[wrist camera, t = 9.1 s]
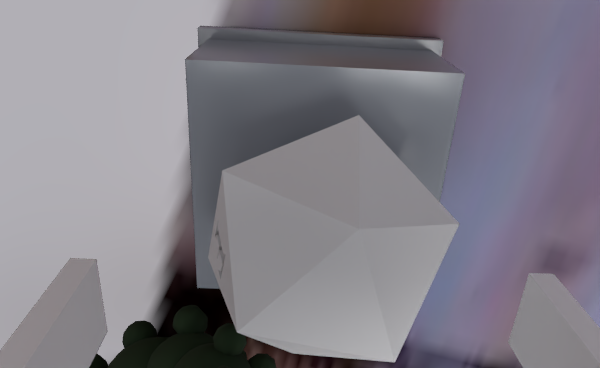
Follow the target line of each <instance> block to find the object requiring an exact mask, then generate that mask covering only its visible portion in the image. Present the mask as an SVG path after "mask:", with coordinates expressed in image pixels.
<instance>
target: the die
mask: <svg viewBox="0 0 600 368" xmlns="http://www.w3.org/2000/svg"><path fill="white" fill-rule="evenodd" d="M458 226H459V223H458V222H457V221H456V220H455V219H454V217H453V216H452V215H451V214H450V213H449V212H448V211H447V210H446V209H445V208H444V207H443V206H442V204H441V203H440V202H439V201H438V200H437V199H436V198H435V197H434V196H433V195H432V194H431V192H430V191H429V190H428V189H427V188H426V187H425V186H424V185H423V184H422V183H421V182H420V181H419V179H418V178H417V177H416V176H415V175H414V174H413V173H412V172H411V171H410V170H409V169H408V168H407V166H406V165H405V164H404V163H403V162H402V161H401V160H400V159H399V158H398V157H397V156H396V155H395V153H394V152H393V151H392V150H391V149H390V148H389V147H388V146H387V145H386V144H385V143H384V142H383V140H382V139H381V138H380V137H379V136H378V135H377V134H376V133H375V132H374V131H373V130H372V129H371V127H370V126H369V125H368V124H367V123H366V122H365V121H364V120H363V119H362V118H361V117H360V116H359V115H358V116H355V117H353V118H350V119H348V120H345V121H343V122H340V123H338V124H336V125H333V126H331V127H328V128H326V129H323V130H321V131H318V132H316V133H313V134H311V135H308V136H306V137H304V138H301V139H299V140H296V141H294V142H291V143H289V144H286V145H284V146H281V147H279V148H276V149H274V150H272V151H269V152H267V153H264V154H262V155H259V156H257V157H254V158H252V159H249V160H247V161H244V162H242V163H239V164H237V165H235V166H232V167H230V168H227V169H225V170H222V176H221V182H220V188H219V194H218V200H217V206H216V213H215V219H214V225H213V231H212V237H211V243H210V249H209V256H208V259H209V261H210V264H211V266H212V269H213V271H214V274H215V277H216V279H217V282H218V284H219V287H220V290H221V292H222V295H223V297H224V300H225V303H226V305H227V308H228V310H229V313H230V316H231V318H232V321H233V323H234V326H235V329H236V331H237V333H240V334H243V335H245V336H248V337H251V338H253V339H256V340H259V341H261V342H264V343H267V344H269V345H272V346H275V347H277V348H280V349H283V350H285V351H288V352H291V353H293V354H305V355H316V356H328V357H339V358H351V359H362V360H374V361H386V362H395V361H396V359H397V357H398V355H399V353H400V350H401V348H402V346H403V344H404V342H405V340H406V338H407V335H408V333H409V331H410V329H411V327H412V325H413V323H414V320H415V318H416V316H417V314H418V312H419V310H420V307H421V305H422V303H423V301H424V299H425V297H426V295H427V292H428V290H429V288H430V286H431V284H432V282H433V280H434V277H435V275H436V273H437V271H438V269H439V267H440V265H441V262H442V260H443V258H444V256H445V254H446V252H447V250H448V247H449V245H450V243H451V241H452V239H453V237H454V235H455V232H456V230H457V228H458Z"/></svg>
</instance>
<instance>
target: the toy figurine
mask: <svg viewBox="0 0 600 368" xmlns="http://www.w3.org/2000/svg"><path fill="white" fill-rule="evenodd" d="M207 327H208V317H207V316H206V315H205V313H204V312H203V311H202V310H201V309H200V308H199V307H198V306H197V305H188V306H184V307H182V308H181V309H180V310H179V311H178V312H177V313H176V314H175V316H174V319H173V328H174V329H175V331H176V332H177V334H175V335H173V336H171V337H157V332H156V329H155V328H154V326H153V325H152V324H151V323H150V322H147V321H135V322H134V323H133V324H131V325H130V326H128V328H127V329H126V331H125V332H124V334H123V345H124V349H123V350H122V351H121V352H120V353H119V354H118V355H117V356H116V357H115V358H114V359H113V361H112V362H111V363H110V364H109V366H108V364H107V362H106V360H104V359H103V358H102V357H101V356H100V355H98V354H96V355H95V357H94V359H93V361H92V363H91V365H90V367H89V368H276V365H275V361H274V359H273V358H272V357H270V356H269V355H268V354H256V355H255V356H253V357H252V358H250V359H249V360H247V356H246V353H245V351H244V350H243V349H244V347H245V346H246V337H245V335H243V334H240V333H237V331H236V329H235V326H234V324H230V323H226V324H224V325H222V326H220V327H219V328H218V329H217V330H216V332H215V334H214V336H211V335H210V334H207V333H204V332H205V331H206V329H207Z"/></svg>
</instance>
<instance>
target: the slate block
mask: <svg viewBox="0 0 600 368" xmlns="http://www.w3.org/2000/svg"><path fill="white" fill-rule="evenodd" d="M443 42H444V41H443V40H441V39H440V38H423V37H404V36H385V35H366V34H347V33H328V32H309V31H290V30H270V29H251V28H232V27H213V26H200V27H198V47H199V48H198V49H197V50H195V51H194V52H193V53H192V54H191V55H190V56H189V57H187V58H186V59H185V64H186V84H187V102H188V122H189V141H190V160H191V179H192V198H193V217H194V236H195V256H196V275H197V288H214V289H220V287H219V284H218V282H217V279H216V277H215V274H214V271H213V269H212V266H211V264H210V261H209V259H208V256H209V249H210V243H211V237H212V231H213V225H214V219H215V213H216V206H217V200H218V194H219V188H220V182H221V176H222V170H225V169H227V168H230V167H232V166H235V165H237V164H239V163H242V162H244V161H247V160H249V159H252V158H254V157H257V156H259V155H262V154H264V153H267V152H269V151H272V150H274V149H276V148H279V147H281V146H284V145H286V144H289V143H291V142H294V141H296V140H299V139H301V138H304V137H306V136H308V135H311V134H313V133H316V132H318V131H321V130H323V129H326V128H328V127H331V126H333V125H336V124H338V123H340V122H343V121H345V120H348V119H350V118H353V117H355V116H358V115H359V116H360V117H361V118H362V119H363V120H364V121H365V122H366V123H367V124H368V125H369V126H370V127H371V129H372V130H373V131H374V132H375V133H376V134H377V135H378V136H379V137H380V138H381V139H382V140H383V142H384V143H385V144H386V145H387V146H388V147H389V148H390V149H391V150H392V151H393V152H394V153H395V155H396V156H397V157H398V158H399V159H400V160H401V161H402V162H403V163H404V164H405V165H406V166H407V168H408V169H409V170H410V171H411V172H412V173H413V174H414V175H415V176H416V177H417V178H418V179H419V181H420V182H421V183H422V184H423V185H424V186H425V187H426V188H427V189H428V190H429V191H430V192H431V194H432V195H433V196H434V197H435V198H436V199H437V200H438V201H439V202H440V197H441V192H442V187H443V182H444V177H445V172H446V167H447V162H448V157H449V152H450V147H451V142H452V137H453V132H454V127H455V122H456V117H457V112H458V107H459V102H460V97H461V92H462V87H463V82H464V77H465V73H463V72H462V71H461V70H459V69H458V68H456V67H455V66H453V65H452V64H450V63H449V62H447V61H446V60H445V59H443V58H442V57H441V54H442V48H443Z"/></svg>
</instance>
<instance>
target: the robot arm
mask: <svg viewBox="0 0 600 368" xmlns="http://www.w3.org/2000/svg"><path fill="white" fill-rule="evenodd" d="M106 333H107V326H106V319H105V312H104V306H103V299H102V293H101V286H100V280H99V273H98V267H97V260H96V259H75V258H70V260H69V261H68V262H67V263H66V265H65V266H64V267H63V269H62V270H61V271H60V273H59V274H58V275H57V277H56V278H55V279H54V281H53V282H52V283H51V284H50V286H49V287H48V288H47V290H46V291H45V292H44V294H43V295H42V296H41V298H40V299H39V300H38V302H37V303H36V304H35V305H34V307H33V308H32V310H31V311H30V312H29V314H28V315H27V316H26V317H25V319H24V320H23V321H22V323H21V324H20V325H19V327H18V328H17V329H16V331H15V332H14V333H13V334H12V336H11V337H10V338H9V340H8V341H7V343H6V344H5V345H4V346H3V348H2V349H1V350H0V368H89V367H90V365H91V363H92V361H93V359H94V357H95V355H96V353H97V351H98V349H99V347H100V345H101V343H102V341H103V339H104V337H105V335H106ZM508 343H509V344H510V346H511V348H512V349H513V351H514V353H515V355H516V356H517V358H518V360H519V362H520V363H521V365H522V367H523V368H600V328H599V327H598V325H597V324H596V323H595V322H594V321H593V320H592V318H591V317H590V316H589V315H588V314H587V313H586V311H585V310H584V309H583V308H582V307H581V306H580V304H579V303H578V302H577V301H576V300H575V299H574V297H573V296H572V295H571V294H570V293H569V291H568V290H567V289H566V288H565V287H564V286H563V284H562V283H561V282H560V281H559V280H558V279H557V277H556V276H555V275H554V274H536V273H529V276H528V279H527V282H526V286H525V289H524V292H523V295H522V299H521V302H520V305H519V309H518V312H517V315H516V319H515V322H514V325H513V329H512V332H511V335H510V339H509V342H508Z"/></svg>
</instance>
